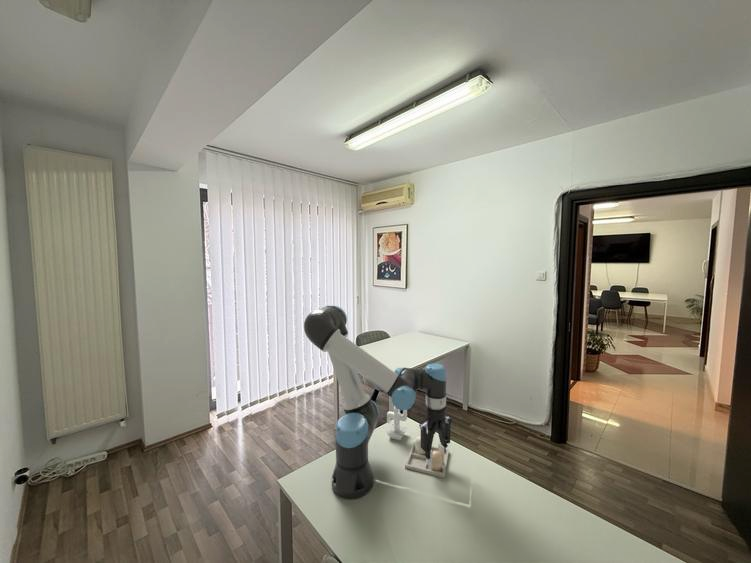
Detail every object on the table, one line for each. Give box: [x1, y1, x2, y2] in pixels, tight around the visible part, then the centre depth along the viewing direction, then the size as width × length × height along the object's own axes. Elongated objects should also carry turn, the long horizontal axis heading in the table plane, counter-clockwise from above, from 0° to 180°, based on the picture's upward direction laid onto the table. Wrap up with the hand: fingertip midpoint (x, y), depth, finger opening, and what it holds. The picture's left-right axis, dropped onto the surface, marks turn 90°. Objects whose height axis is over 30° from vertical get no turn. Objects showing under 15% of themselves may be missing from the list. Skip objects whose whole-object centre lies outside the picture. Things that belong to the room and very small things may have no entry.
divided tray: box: [404, 441, 450, 478], centre depth 117 cm, size 15×15×2 cm
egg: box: [430, 451, 442, 472], centre depth 112 cm, size 5×5×7 cm
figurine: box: [386, 405, 408, 441], centre depth 133 cm, size 7×9×15 cm
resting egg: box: [414, 435, 425, 456], centre depth 122 cm, size 5×5×7 cm
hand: (435, 463), depth 113 cm, fingers open, 5 cm apart
